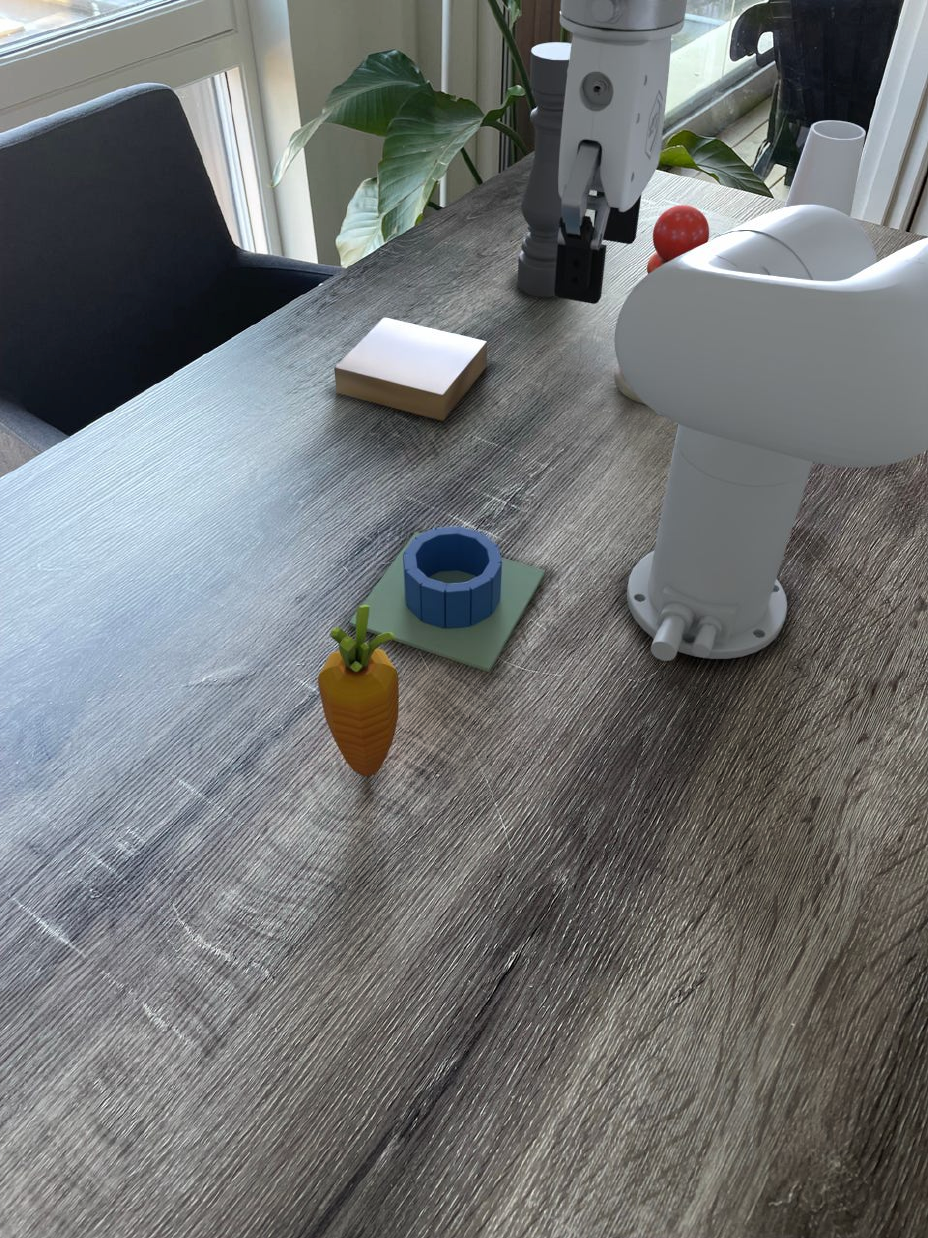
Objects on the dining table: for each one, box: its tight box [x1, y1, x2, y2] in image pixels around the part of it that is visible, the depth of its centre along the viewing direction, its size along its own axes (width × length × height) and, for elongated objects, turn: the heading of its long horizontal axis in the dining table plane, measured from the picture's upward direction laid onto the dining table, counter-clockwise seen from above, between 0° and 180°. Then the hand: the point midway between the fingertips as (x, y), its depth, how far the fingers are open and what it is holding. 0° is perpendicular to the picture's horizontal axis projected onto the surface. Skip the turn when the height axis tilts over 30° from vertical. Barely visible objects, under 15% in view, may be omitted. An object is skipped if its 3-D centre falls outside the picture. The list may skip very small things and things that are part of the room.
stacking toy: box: [613, 204, 710, 405], centre depth 96 cm, size 8×8×19 cm
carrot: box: [317, 604, 400, 778], centre depth 63 cm, size 5×5×15 cm
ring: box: [403, 525, 502, 629], centre depth 79 cm, size 8×8×4 cm
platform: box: [333, 317, 488, 422], centre depth 103 cm, size 11×12×3 cm
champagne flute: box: [783, 119, 867, 218], centre depth 97 cm, size 7×7×24 cm
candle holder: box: [516, 41, 572, 298], centre depth 109 cm, size 6×6×25 cm
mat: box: [348, 531, 546, 673], centre depth 81 cm, size 12×12×1 cm
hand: (596, 267), depth 72 cm, fingers open, 9 cm apart
